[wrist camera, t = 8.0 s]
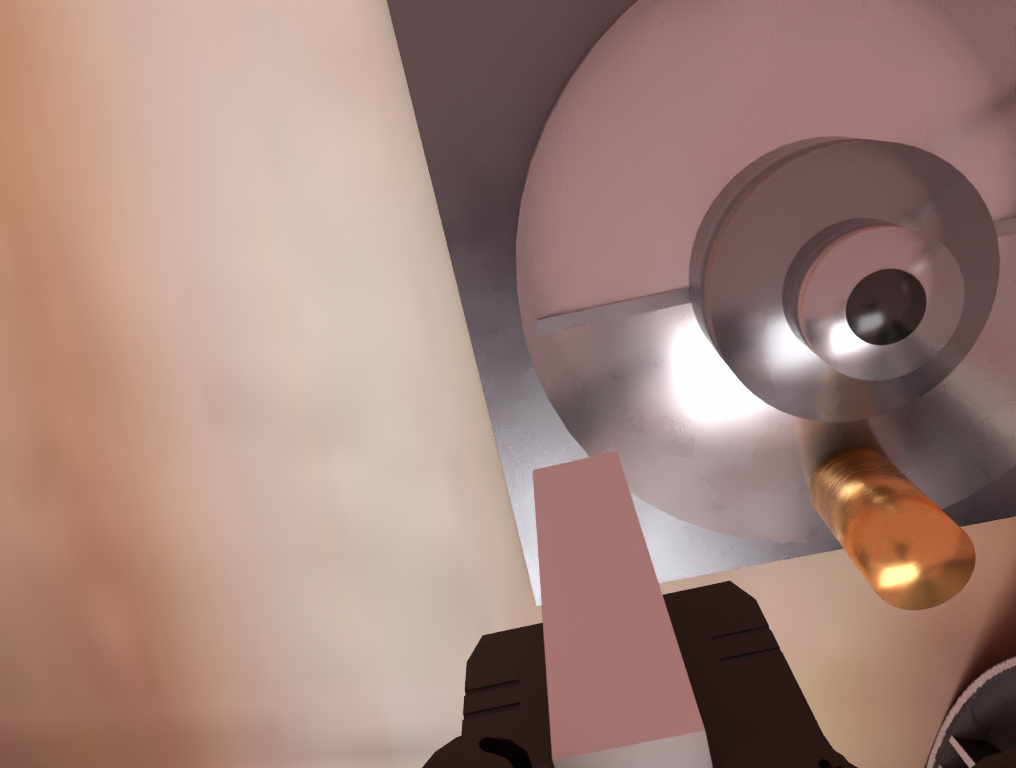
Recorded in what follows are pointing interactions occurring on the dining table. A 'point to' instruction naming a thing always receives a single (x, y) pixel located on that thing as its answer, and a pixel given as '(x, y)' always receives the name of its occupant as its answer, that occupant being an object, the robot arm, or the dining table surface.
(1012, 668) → the wheel rim
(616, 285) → the turntable
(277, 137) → the dining table surface
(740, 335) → the cover
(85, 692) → the dining table surface
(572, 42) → the turntable base
